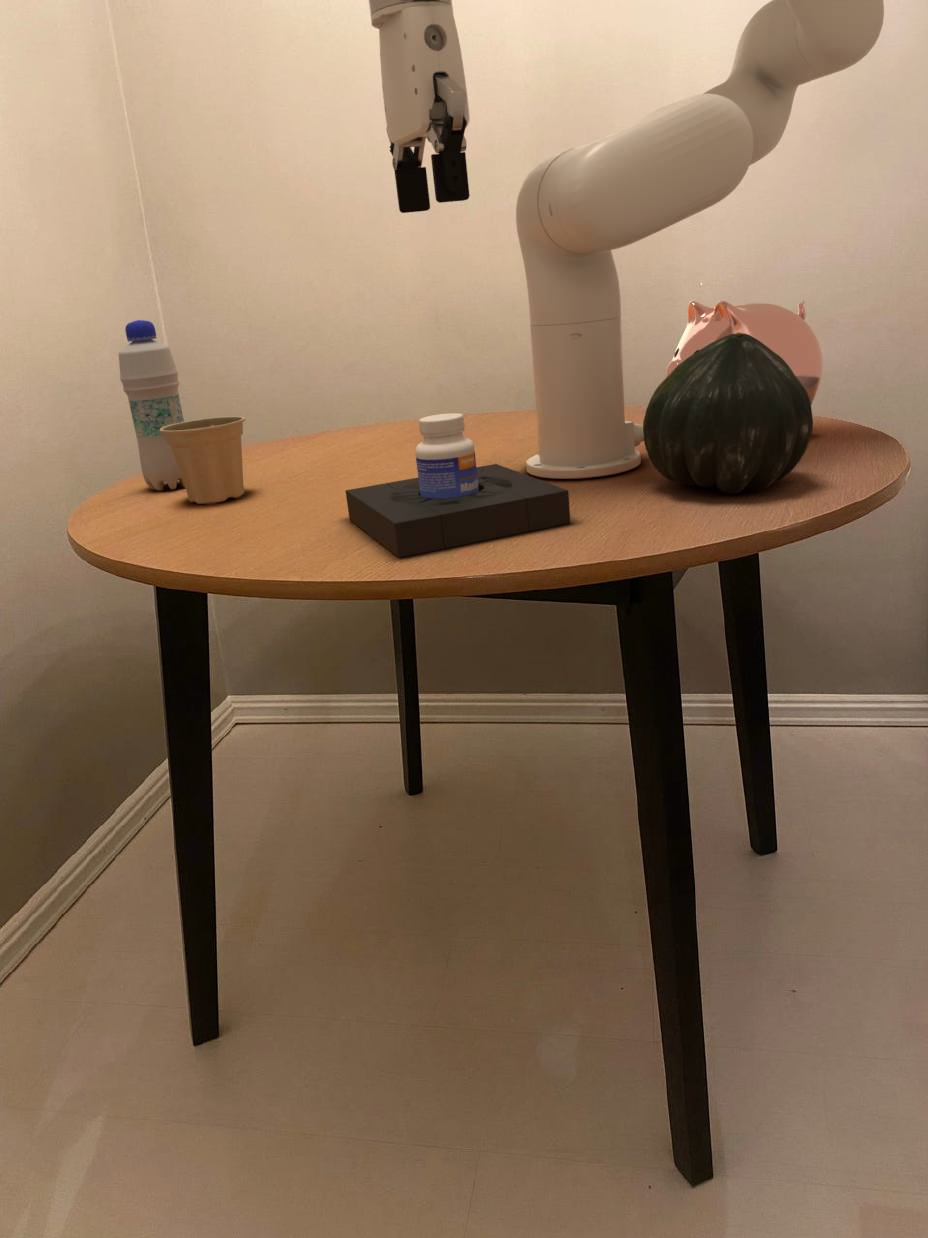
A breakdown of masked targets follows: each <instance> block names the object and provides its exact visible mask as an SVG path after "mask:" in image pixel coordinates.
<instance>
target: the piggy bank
mask: <svg viewBox="0 0 928 1238" xmlns="http://www.w3.org/2000/svg"><path fill="white" fill-rule="evenodd" d="M804 303H805V301H804V300H802V302H798V303H797V307H798V313H797V312H795V311H793V310H791V309H790V308H788V307H786V306H783V305H781V304H776V303H771V302H753V303H750V302H749V303H742V304H732V303H730V302H728V301H725V300H719V301H718V302H717V303H716V304H715V306H714V307H711V306H706V305H704V304H702V303H701V302H699V301H695V300H691V301H689V303H688V305H687V324H686V327H685V330H684V332H683V334H682V336H681V338H680V340H679V342H678V345H677V347H676V349H675V351H674V355H673V357H672V359H671V361H670V362H669V363H668V365H667V368H666V372H665V378H666V377H667V376H668V375H670V374H671V372H672V371H673V370H674V369H675V368H676V367H677V366H678V365H680V364H681V363H682V362H683V361H684V360H686V359H687V358H689V357H690V356H691V355H693V354H694V353H696V352H698V351H699V350H701V349H702V348H704V347H706V346H707V345H709V344H710V343H712V342H714V341H716V340H718V339H720V338H723V337H725V336H728V335H731V334H736V333H744V334H748V335H751V336H752V337H754V338H756V339H757V340H759V341H760V342H762V343H763V344H764V345H766V346H767V347H768V348H770V349H771V350H772V351H773V352H775V353H776V354H777V355H779V356H780V357H781V358H782V359H783V360H784V361H785V362H786V363H787V364H788V366H789V367H790V368H791V370H792V371H793V373H794V374H795V376H796V377H797V378H798V380H799V381H800V382H801V384H802V385H803V387H804V388H805V389H806V391H807V394H808V396H809V399H810V402H811V406H812V404H813V402H814V400H815V398H816V395H817V392H818V390H819V387H820V384H821V381H822V380H821V379H822V376H823V354H822V349H821V345H820V343H819V340H818V337H817V336H816V334H815V333H814V331H813V329H812V328H811V326H810V325H809V324H808V322H806V317H807V316H806V315H807V314H806V313H807V312H806V309H805V306H804ZM812 436H813V434H812V435H811V437H812Z"/></svg>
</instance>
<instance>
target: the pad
mask: <svg viewBox="0 0 928 1238" xmlns="http://www.w3.org/2000/svg"><path fill="white" fill-rule="evenodd" d="M476 469H477V479H478V488H479V492H477V493H473V494H470V495H466V496H460V497H453V498H425V497H421V495H420V487H419V479H418V477H413V478H408V479H402V480H396V481H390V482H386V483H385V482H384V483H380V484H374V485H373V484H372V485H368V486H363V487H362V486H361V487H356V488H351V489H350V488H349V489H347V490H345V497H346V505H347V511H348V512H347V513H348V519H349V521H350V522H352V523H353V524H354V525H356V526H357V527H358V528H359V529H360V530H362V531H363V532H365V533H366V534H367V535H369V536H370V537H371V538H372V539H374V540H375V541H377V542H378V543H379V544H380V545H382V546H383V547H384V548H386V549H387V550H388V551H389V552H390V553H392V554H394V555H395V557H397V558H398V559H400V558H401V559H402V558H406V557H411V556H415V555H422V554H426V553H431V552H435V551H440V550H444V549H451V548H455V547H461V546H465V545H470V544H476V543H480V542H485V541H490V540H495V539H500V538H506V537H511V536H514V535H519V534H524V533H529V532H534V531H539V530H544V529H548V528H554V527H558V526H565V525H568V524H571V511H570V495H569V494H570V493H569V492H570V491H569V490H568V489H565V488H563V487H561V486H558V485H556V484H552V483H550V482H547V481H544V480H542V479H539V478H536V477H534V476H530V475H529V474H528V475H527V474H526V473H522V472H519V471H516V470H514V469H511V468H508V467H506V466H503V465H500V464H497V463H492V464H488V465H482V466H476Z"/></svg>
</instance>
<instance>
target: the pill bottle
mask: <svg viewBox="0 0 928 1238" xmlns="http://www.w3.org/2000/svg"><path fill="white" fill-rule="evenodd" d="M418 424H419V433H420V436H422V437H423V441H421V442H420V443H418V444H417V446H416V447H415V451H414V452H415V453H414V454H415V462H416V470H417V478H418V479H419V487H420V495H421V497H425V498H453V497H460V496H466V495H470V494H473V493H477V492H479V488H478V479H477V469H476V467H477V461H476V460H477V459H476V452H475V444H474V442H473V440H472V439H470V438H468V437H466V436H464V434H463V432H464V431H465V428H466V425H465V420H464V414H463V413H455V412H453V413H452V412H451V413H440V414H433V415H427V416H424V417H420V418H419V420H418Z"/></svg>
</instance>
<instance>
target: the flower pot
mask: <svg viewBox="0 0 928 1238" xmlns="http://www.w3.org/2000/svg"><path fill="white" fill-rule="evenodd" d="M245 421H246V417H245V416H241V415H227V416H226V415H224V416H215V417H207V418H198V419H193V420H188V421H187V420H186V421H184V422H180V423H176V424H171V425H167V426H164V427H162V428H160V433H163V434H164V436H165V438H166V441H167V444H168V445H170V447H171V449H172V452H173V455H174V458H175V460H176V463H177V466H178V469H179V472H180V474H181V477H182V480H183V483H184V486H185V487H184V488H185V492H186V495H187V498H188V501H189V502H190V503H196V504H199V505H207V504H218V503H223V502H225V501H226V500H227V499H229V498H232V499H237V498H240V497H241V496H243V495H244V493H245V485H244V468H243V447H242V435H243V434H244V422H245Z"/></svg>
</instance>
